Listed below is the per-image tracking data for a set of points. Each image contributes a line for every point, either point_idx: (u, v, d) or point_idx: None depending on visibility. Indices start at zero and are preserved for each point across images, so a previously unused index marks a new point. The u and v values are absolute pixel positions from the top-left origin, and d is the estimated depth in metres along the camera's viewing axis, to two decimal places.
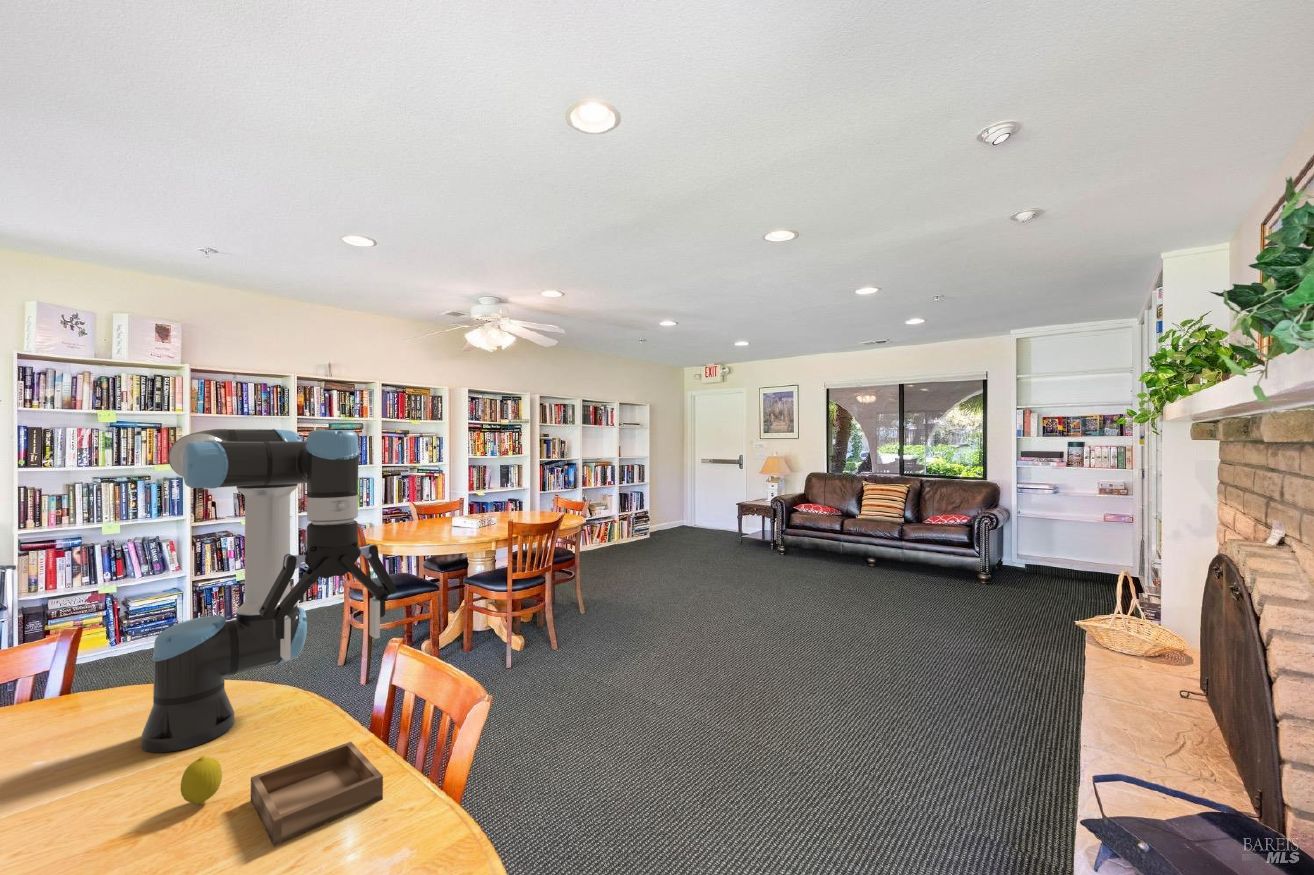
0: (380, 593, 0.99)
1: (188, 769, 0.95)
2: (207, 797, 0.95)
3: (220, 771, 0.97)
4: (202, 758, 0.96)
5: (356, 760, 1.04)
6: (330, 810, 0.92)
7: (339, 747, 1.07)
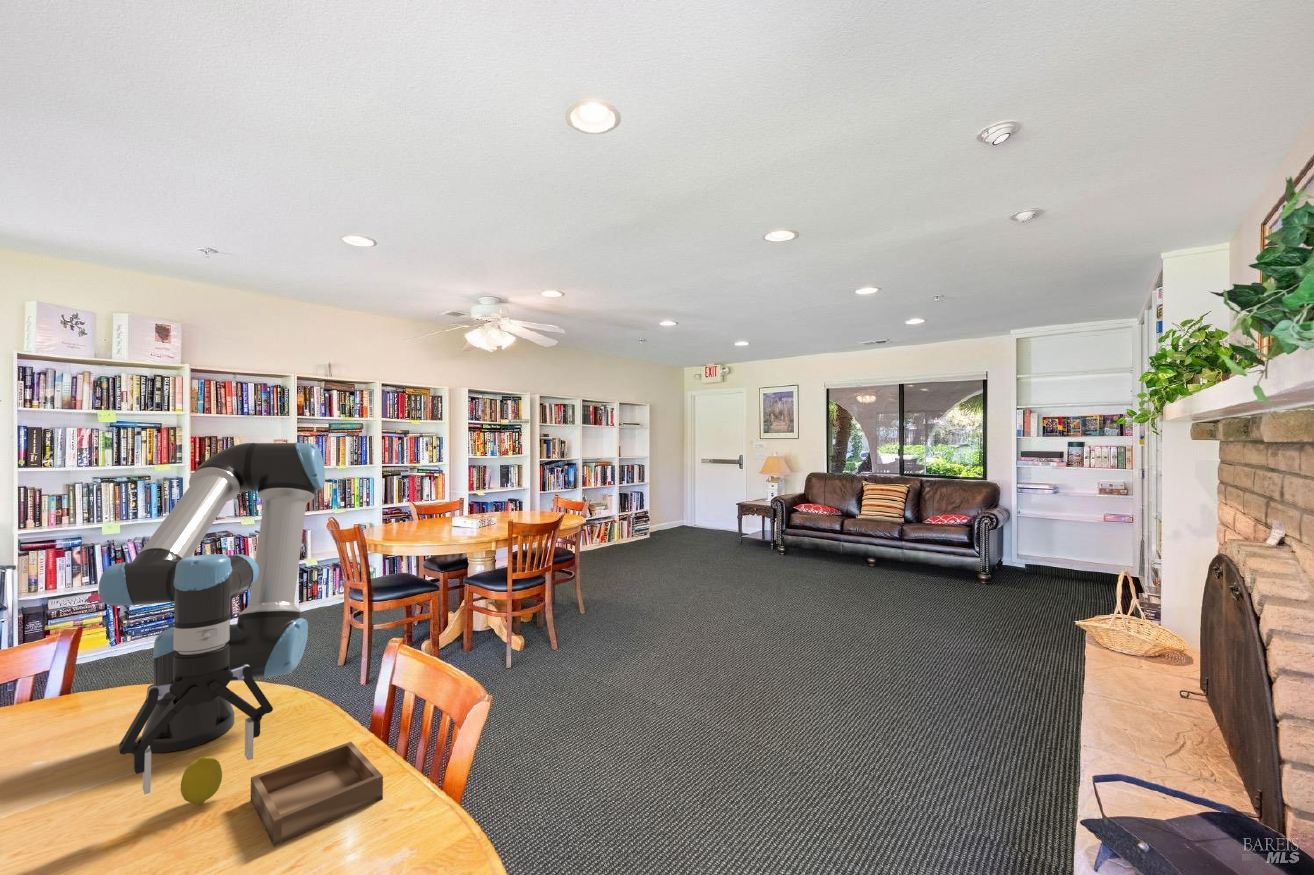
0: (254, 714, 1.00)
1: (188, 769, 0.95)
2: (207, 797, 0.95)
3: (220, 771, 0.97)
4: (202, 758, 0.96)
5: (356, 760, 1.04)
6: (330, 810, 0.92)
7: (339, 747, 1.07)
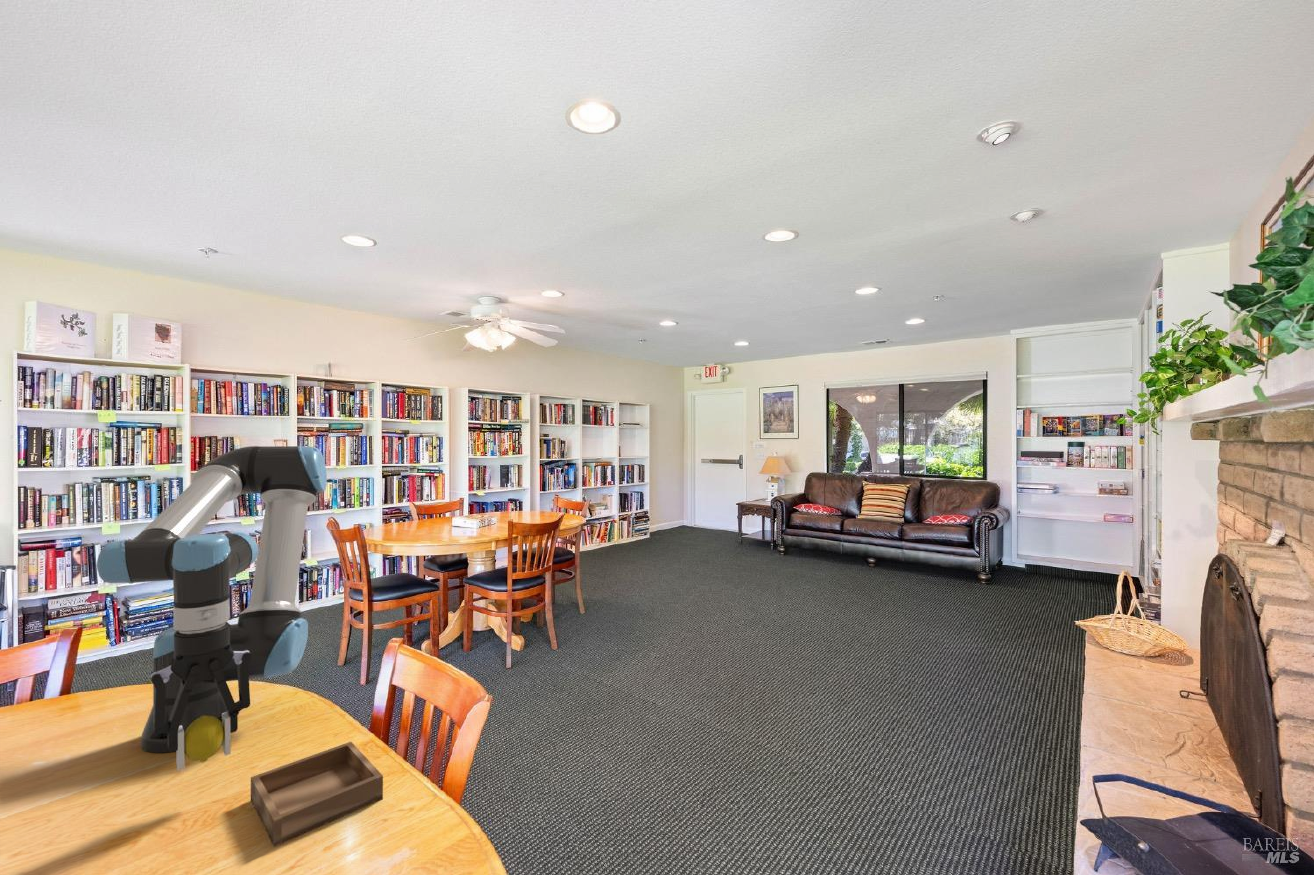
0: (232, 708, 0.99)
1: (190, 727, 0.95)
2: (209, 755, 0.96)
3: (222, 730, 0.98)
4: (204, 717, 0.97)
5: (356, 760, 1.04)
6: (330, 810, 0.92)
7: (339, 747, 1.07)
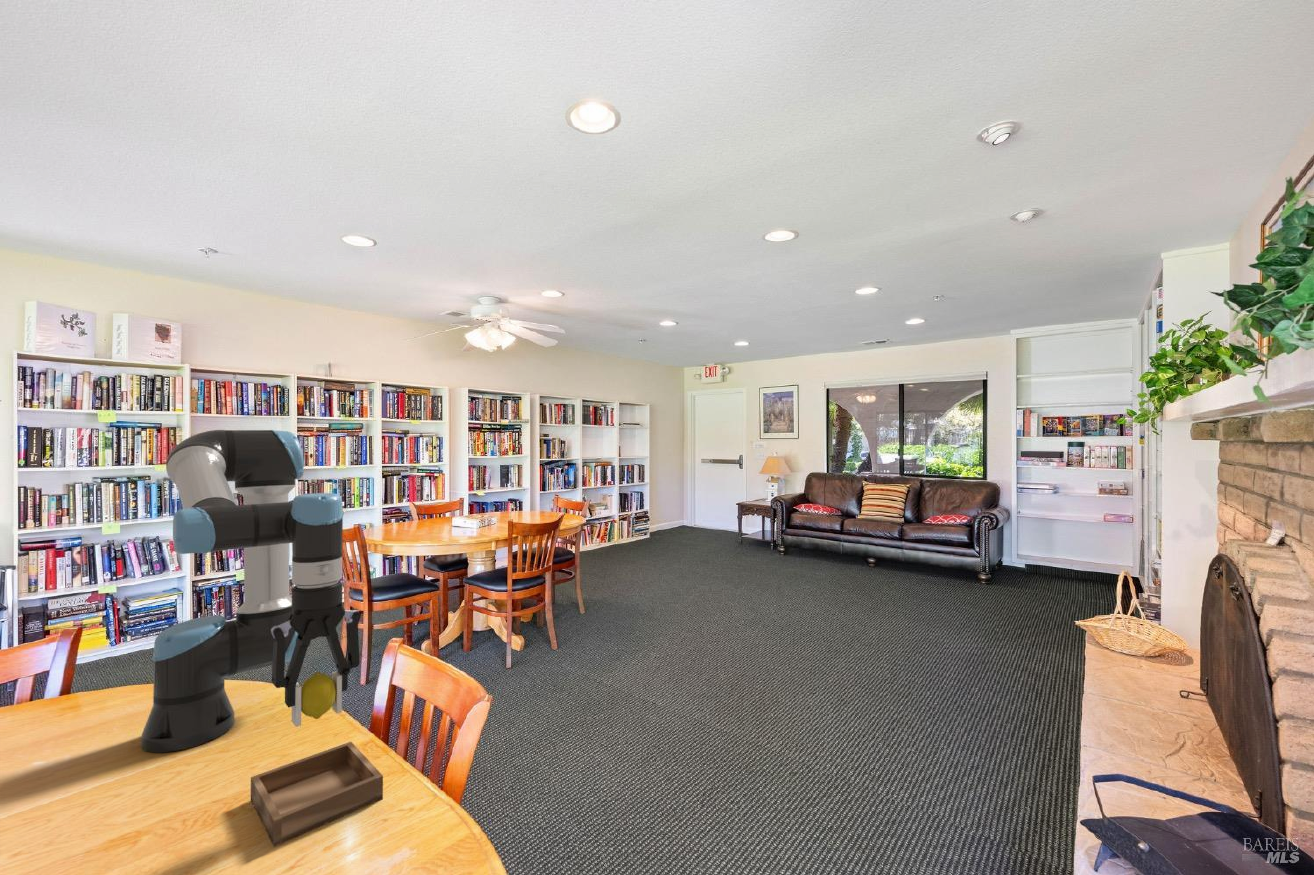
0: (344, 666, 0.99)
1: (306, 683, 0.96)
2: (324, 711, 0.96)
3: (334, 687, 0.98)
4: (318, 673, 0.97)
5: (356, 760, 1.04)
6: (330, 810, 0.92)
7: (339, 747, 1.07)
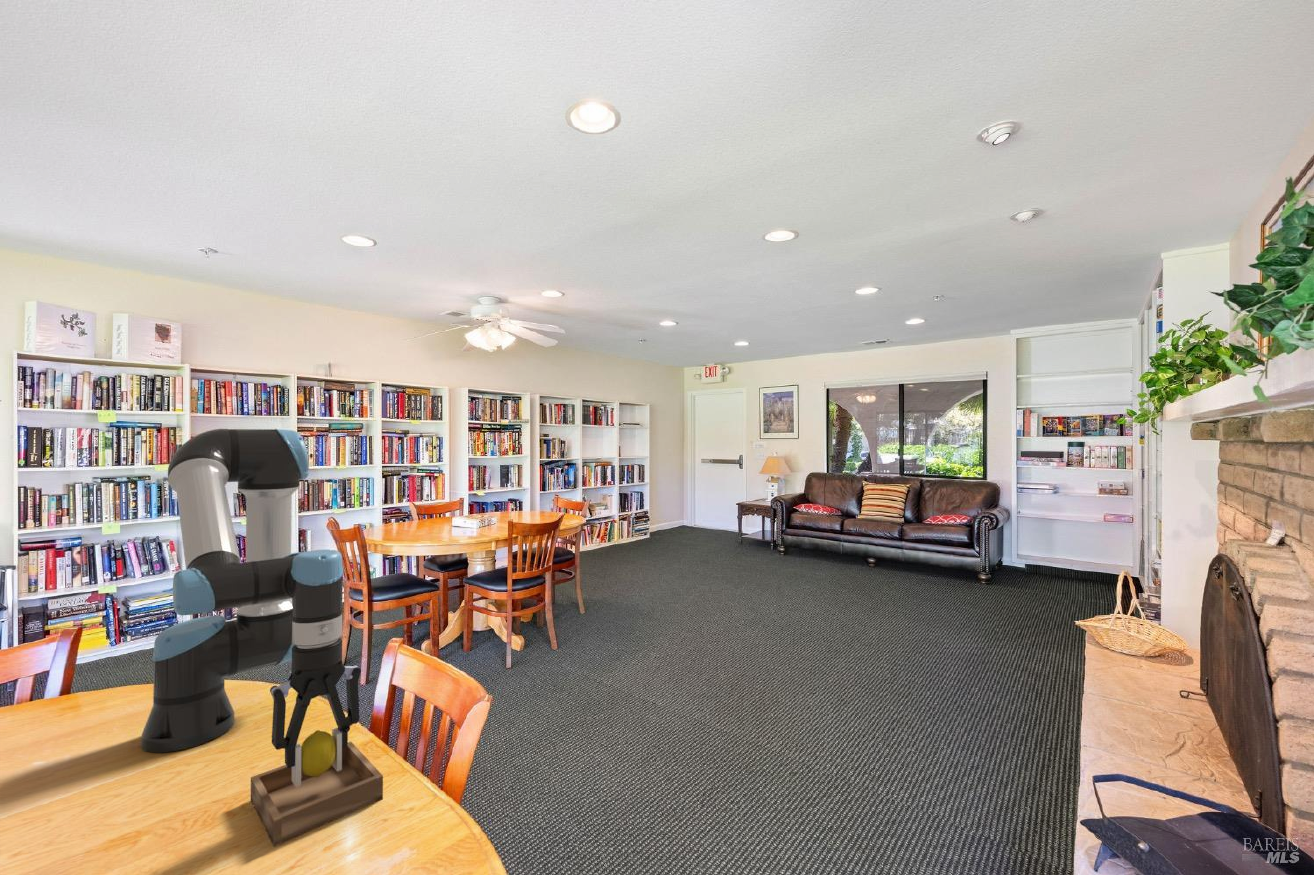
0: (344, 723, 0.99)
1: (306, 742, 0.96)
2: (324, 770, 0.96)
3: (334, 745, 0.98)
4: (318, 732, 0.97)
5: (356, 760, 1.04)
6: (330, 810, 0.92)
7: None
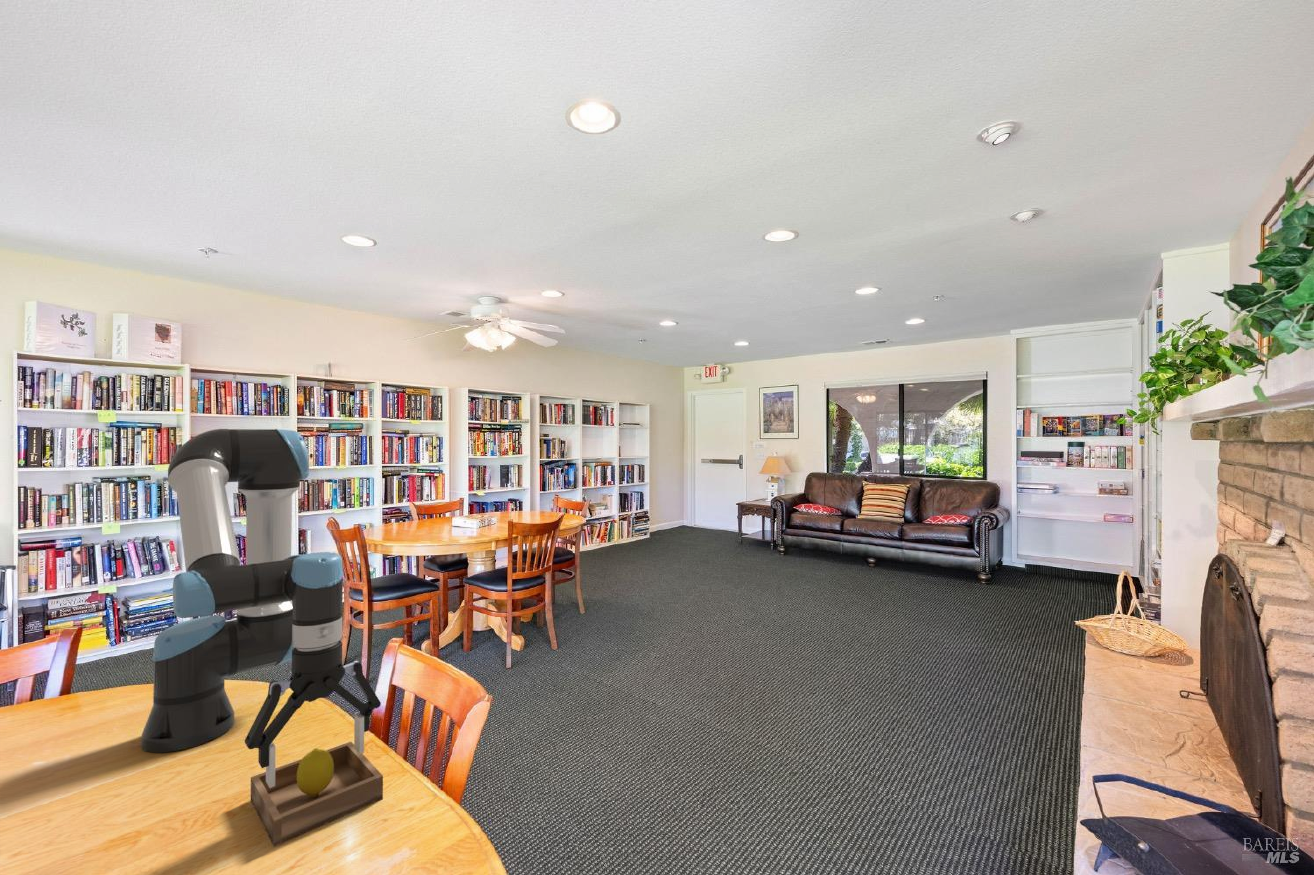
0: (364, 709, 1.02)
1: (304, 761, 0.96)
2: (322, 788, 0.96)
3: (332, 763, 0.98)
4: (316, 750, 0.97)
5: (356, 760, 1.04)
6: (330, 810, 0.92)
7: (339, 747, 1.07)
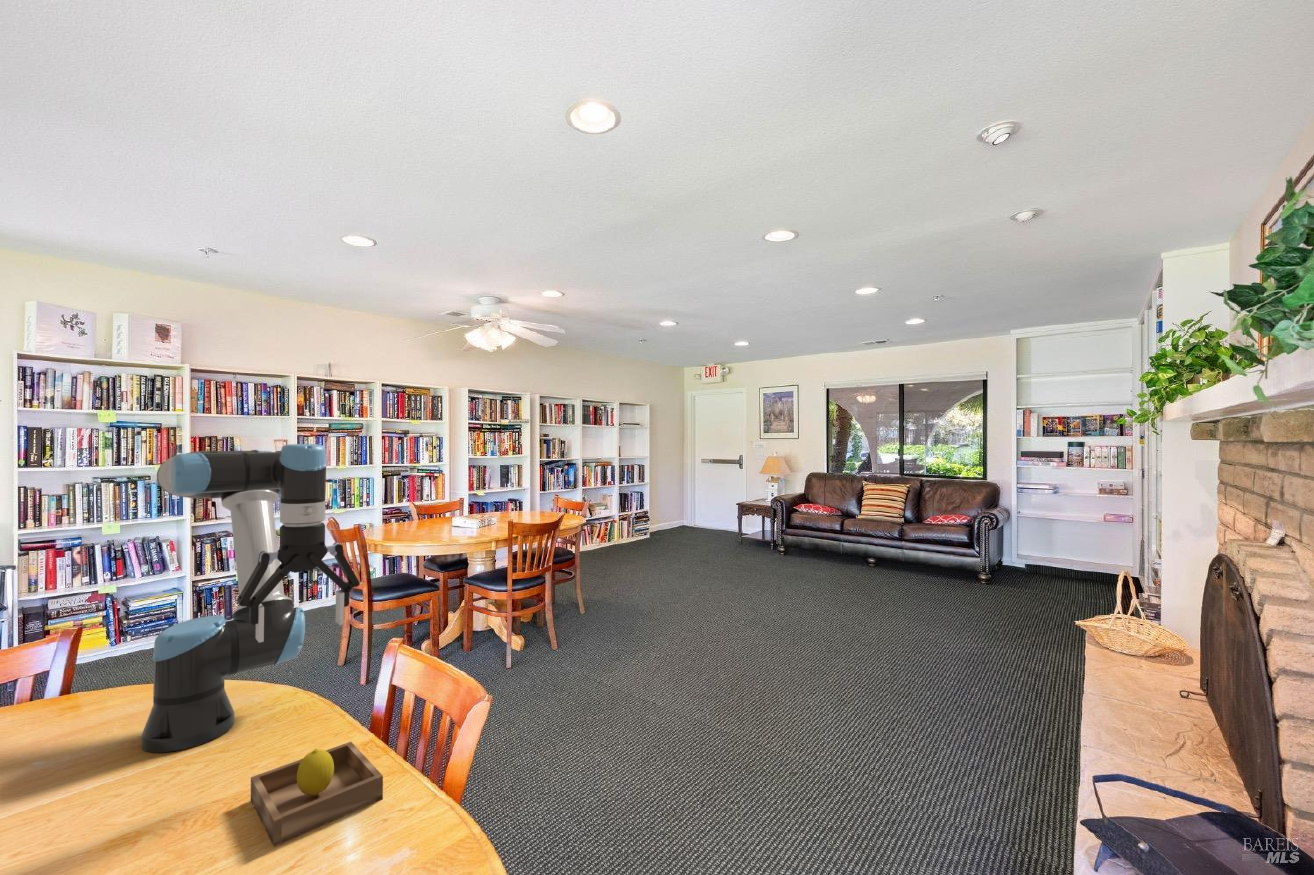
0: (344, 586, 1.14)
1: (304, 761, 0.96)
2: (322, 789, 0.96)
3: (333, 763, 0.98)
4: (316, 751, 0.97)
5: (356, 760, 1.04)
6: (330, 810, 0.92)
7: (339, 747, 1.07)
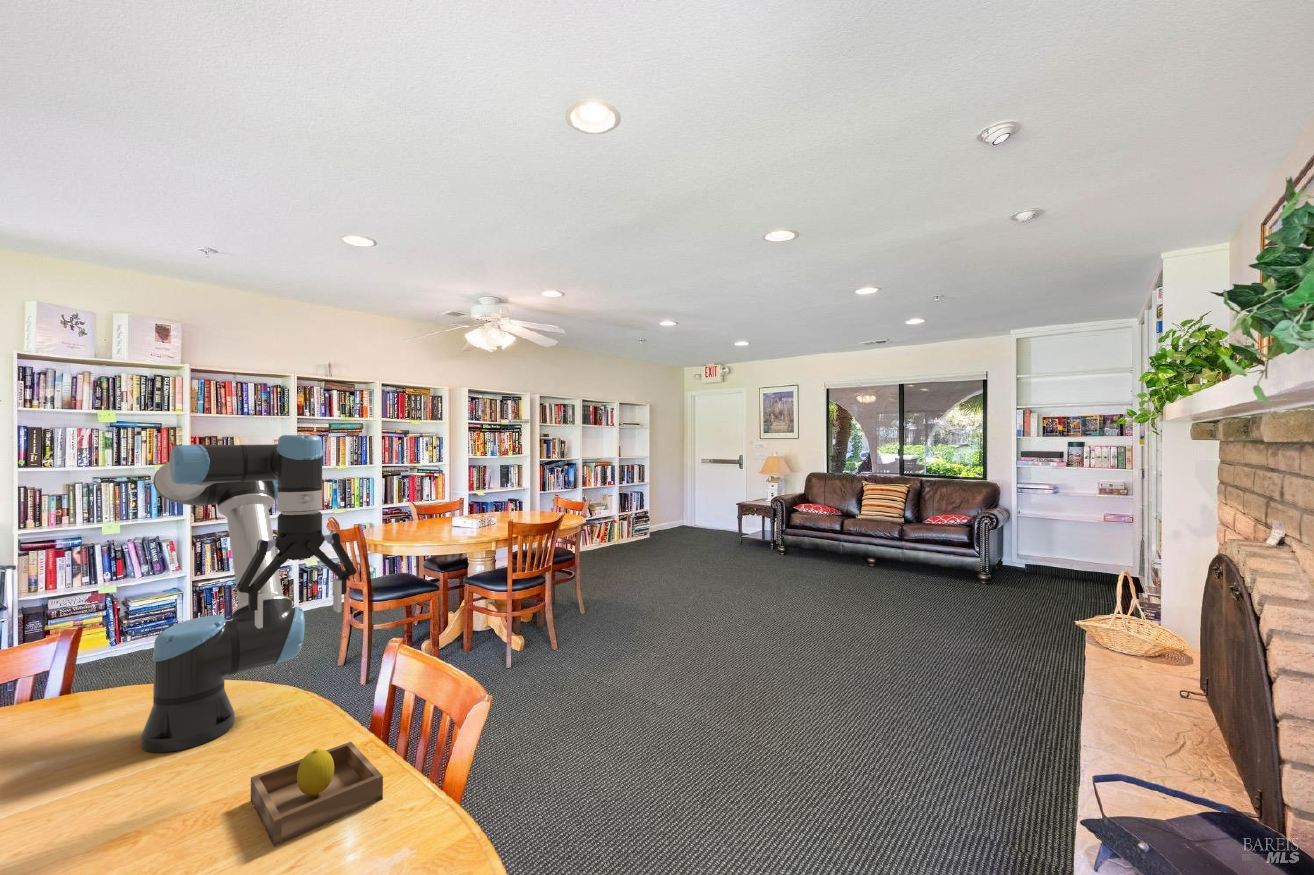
0: (342, 574, 1.17)
1: (304, 761, 0.96)
2: (322, 789, 0.96)
3: (333, 764, 0.98)
4: (316, 750, 0.97)
5: (356, 760, 1.04)
6: (330, 810, 0.92)
7: (339, 747, 1.07)
